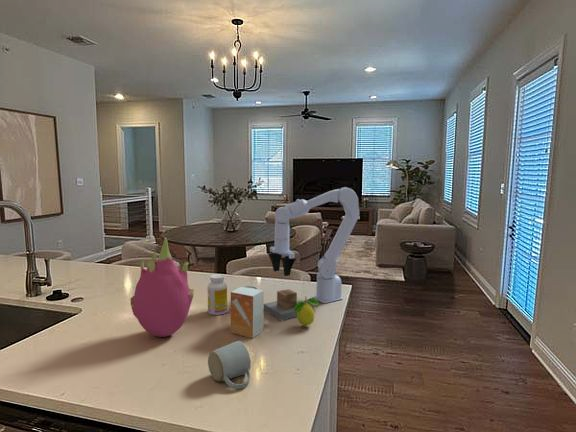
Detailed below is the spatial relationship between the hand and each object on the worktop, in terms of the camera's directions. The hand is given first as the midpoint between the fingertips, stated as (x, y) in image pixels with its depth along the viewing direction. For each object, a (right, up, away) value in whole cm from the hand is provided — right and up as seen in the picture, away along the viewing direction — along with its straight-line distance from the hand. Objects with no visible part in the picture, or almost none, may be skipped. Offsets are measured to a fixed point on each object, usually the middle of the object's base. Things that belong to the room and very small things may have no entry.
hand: (281, 273), depth 146 cm
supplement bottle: (-22, -12, -15) cm, 29 cm away
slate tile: (+2, -12, -13) cm, 17 cm away
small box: (-10, -14, -31) cm, 35 cm away
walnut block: (+2, -10, -13) cm, 16 cm away
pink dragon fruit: (-35, -14, -34) cm, 50 cm away
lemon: (+8, -13, -26) cm, 30 cm away
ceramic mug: (-11, -17, -56) cm, 60 cm away
